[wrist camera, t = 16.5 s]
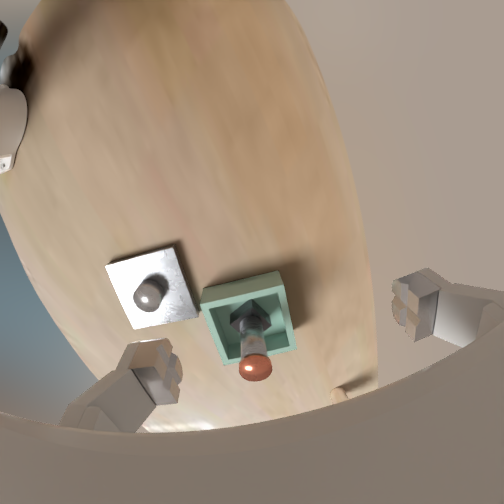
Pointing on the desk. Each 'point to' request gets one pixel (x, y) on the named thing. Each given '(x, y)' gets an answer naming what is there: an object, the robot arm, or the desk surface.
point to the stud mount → (153, 288)
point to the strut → (252, 340)
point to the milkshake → (338, 395)
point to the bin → (236, 294)
